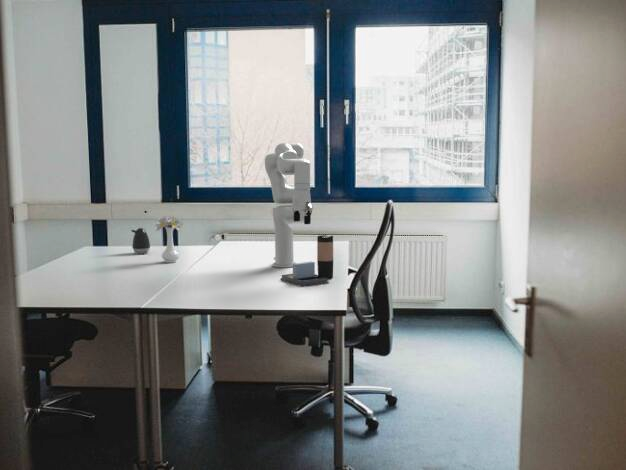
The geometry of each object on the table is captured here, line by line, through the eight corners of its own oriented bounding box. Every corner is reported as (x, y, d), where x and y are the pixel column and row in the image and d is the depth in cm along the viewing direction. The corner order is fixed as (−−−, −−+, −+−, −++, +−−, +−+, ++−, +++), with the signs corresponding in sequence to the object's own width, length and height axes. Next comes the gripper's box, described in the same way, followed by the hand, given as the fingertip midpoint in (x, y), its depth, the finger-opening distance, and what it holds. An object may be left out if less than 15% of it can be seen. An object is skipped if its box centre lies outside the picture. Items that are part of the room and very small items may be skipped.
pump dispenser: (130, 252, 407) (129, 227, 405) (148, 251, 411) (147, 226, 409) (134, 255, 398) (132, 229, 396) (152, 254, 402) (151, 228, 400)
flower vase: (185, 258, 384) (184, 214, 381) (178, 264, 366) (176, 218, 363) (162, 258, 385) (161, 214, 382) (154, 264, 367) (152, 218, 363)
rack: (280, 279, 323) (280, 274, 323) (305, 276, 331) (305, 270, 330) (302, 286, 307) (302, 281, 306) (328, 283, 314) (328, 277, 314)
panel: (293, 280, 317) (292, 263, 316) (311, 278, 323) (311, 261, 322) (296, 281, 315) (296, 264, 314) (314, 279, 320) (314, 262, 319)
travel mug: (320, 279, 322) (319, 237, 320) (315, 276, 330) (315, 235, 327) (335, 278, 324) (335, 236, 322) (330, 275, 332) (330, 234, 329)
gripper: (286, 185, 328) (286, 220, 331) (304, 189, 314) (304, 225, 317) (299, 184, 332) (299, 219, 335) (318, 188, 317) (318, 224, 321)
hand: (302, 222), depth 326 cm, fingers open, 9 cm apart
